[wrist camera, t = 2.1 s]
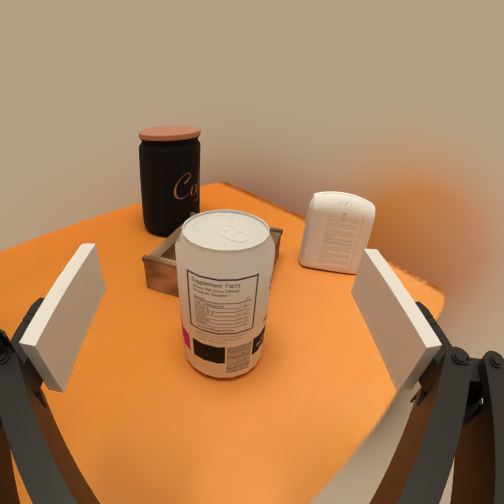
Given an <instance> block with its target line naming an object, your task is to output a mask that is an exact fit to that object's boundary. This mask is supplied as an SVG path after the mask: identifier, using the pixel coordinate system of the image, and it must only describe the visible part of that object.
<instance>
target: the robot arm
mask: <svg viewBox="0 0 504 504" xmlns="http://www.w3.org/2000/svg"><path fill="white" fill-rule="evenodd" d="M105 291H106V286H105V283H104V279H103V274H102V270H101V266H100V262H99V257H98V253H97V248H96V244H82V245H81V246H80V247H79V249H78V250H77V252H76V253H75V254H74V256H73V257H72V259H71V260H70V261H69V263H68V264H67V266H66V267H65V269H64V270H63V272H62V273H61V275H60V276H59V277H58V279H57V280H56V282H55V284H54V285H53V287H52V288H51V290H50V291H49V293H48V294H47V296H46V298H39V299H38V300H37V301H36V302H35V303H33V304H32V305H31V307H30V309H29V310H28V312H27V315H25V317H24V318H23V322H21V323H20V325H19V327H18V328H17V330H16V332H15V334H14V335H13V337H12V339H11V341H10V340H9V338H8V337H7V335H6V333H5V332H4V331H3V330H1V329H0V504H20V501H19V497H18V493H17V488H16V483H15V478H14V472H13V466H12V459H11V452H12V455H13V457H14V460H15V463H16V465H17V468H18V471H19V473H20V476H21V478H22V480H23V483H24V485H25V487H26V490H27V492H28V494H29V496H30V498H31V500H32V502H33V504H100V503H99V501H98V500H97V498H96V497H95V495H94V494H93V492H92V490H91V489H90V487H89V486H88V484H87V482H86V481H85V479H84V477H83V476H82V474H81V472H80V470H79V469H78V467H77V465H76V463H75V461H74V459H73V457H72V456H71V454H70V452H69V450H68V448H67V446H66V444H65V442H64V440H63V438H62V436H61V433H60V431H59V429H58V427H57V425H56V422H55V420H54V418H53V415H52V413H51V411H50V408H49V406H48V403H47V401H46V398H45V396H44V393H43V391H42V390H41V388H40V387H41V384H42V382H44V383H45V384H46V386H47V387H48V389H50V390H54V391H58V392H63V393H64V392H65V389H66V386H67V383H68V380H69V377H70V374H71V372H72V369H73V366H74V364H75V361H76V358H77V356H78V353H79V351H80V348H81V346H82V343H83V341H84V338H85V336H86V334H87V331H88V329H89V326H90V324H91V322H92V319H93V317H94V315H95V313H96V310H97V308H98V306H99V304H100V301H101V299H102V297H103V295H104V293H105ZM351 293H352V295H353V297H354V299H355V301H356V304H357V306H358V308H359V310H360V312H361V314H362V316H363V318H364V320H365V322H366V324H367V326H368V328H369V330H370V333H371V335H372V337H373V339H374V341H375V343H376V346H377V348H378V350H379V352H380V354H381V357H382V359H383V361H384V363H385V365H386V368H387V370H388V372H389V375H390V377H391V379H392V382H393V384H394V386H395V389H396V391H397V392H402V391H406V390H410V389H412V388H413V387H414V385H415V384H416V383H417V381H419V383H420V385H421V388H420V389H419V390H418V392H417V393H416V394H415V395H414V397H413V398H412V400H411V401H410V402H413V401H414V400H415V402H414V405H413V408H412V411H411V413H410V416H409V419H408V422H407V424H406V427H405V429H404V432H403V435H402V437H401V439H400V442H399V444H398V447H397V449H396V451H395V454H394V456H393V458H392V460H391V462H390V465H389V467H388V469H387V471H386V473H385V475H384V477H383V479H382V481H381V483H380V485H379V487H378V489H377V491H376V493H375V495H374V496H373V498H372V500H371V502H370V504H439V502H440V500H441V497H442V494H443V491H444V488H445V486H446V483H447V480H448V477H449V473H450V470H451V467H452V463H453V460H454V474H453V486H452V494H451V502H450V504H504V359H503V357H502V356H501V355H500V354H498V353H497V352H494V351H488V352H486V353H485V355H484V356H483V358H482V359H476V358H470V357H469V355H468V354H467V353H466V352H465V351H464V350H463V349H461V348H458V347H452V346H451V344H450V342H449V341H448V339H447V337H446V336H445V334H444V333H443V331H442V330H441V328H440V327H439V325H437V322H436V321H435V319H434V318H433V316H432V315H431V313H430V312H429V310H428V309H427V308H426V307H425V306H424V305H423V304H421V303H420V302H414V300H413V299H412V297H411V296H410V295H409V293H408V292H407V290H406V289H405V287H404V286H403V284H402V283H401V282H400V280H399V279H398V277H397V276H396V275H395V273H394V272H393V270H392V269H391V268H390V266H389V265H388V264H387V262H386V261H385V259H384V258H383V257H382V256H381V254H380V253H379V251H378V250H377V249H364V250H363V254H362V257H361V261H360V264H359V268H358V271H357V275H356V278H355V281H354V285H353V288H352V291H351ZM482 398H483V404H482V400H481V399H482ZM10 449H11V452H10ZM454 456H455V459H454Z"/></svg>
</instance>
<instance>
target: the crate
mask: <svg viewBox="0 0 504 504" xmlns="http://www.w3.org/2000/svg"><path fill="white" fill-rule="evenodd" d="M196 214H199V213H193V212H192V213H190V217H192V216H193V215H196ZM187 220H188V219H187ZM184 223H185V222H184ZM184 223H183V224H184ZM183 224H182V225H181V226H180V227H179V228H178V229H176V230H175V231H174V232H173V233H172V234H171V235H170V236H169V237H168V238H167V239H166V240H165V241H163V242H162V243H161V244H160V245H159V246H158V247H157V248H156V249H155V250H154V251H153V252H152V253H151V254H150V255H149V256H146V255H144V256H143V257H142V261H143V262H144V267H145V274H146V280H147V286H148V288H150V289H154V290H157V291H160V292H164V293H167V294H170V295H174V296H177V297H179V291H178V280H177V267H176V254H175V243H176V241H177V239H178V237H179V236H180V234H181V232H182V226H183ZM269 232H270V235H271V237H272V239H273V241H274V243H275V258H274V265H275V262H276V260H277V257H278V253H279V246H280V238H281V235H282V233H283V229H278V228H273V227H269ZM273 267H274V266H273Z"/></svg>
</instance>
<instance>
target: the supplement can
mask: <svg viewBox="0 0 504 504" xmlns="http://www.w3.org/2000/svg"><path fill="white" fill-rule="evenodd" d="M175 254H176V267H177V280H178V291H179V301H180V311H181V320H182V329H183V338H184V346H185V351H186V356H187V359H188V360H189V361H190V363H191V364H192V366H193V367H194V368H196V369H197V370H199V371H200V372H202V373H204V374H206V375H210V376H213V377H217V378H227V377H235V376H238V375H241V374H244V373H246V372H248V371H249V370H250V369H251V368H253V367H254V366H255V365H256V363H257V362H258V360H259V358H260V356H261V350H262V344H263V337H264V330H265V323H266V316H267V309H268V302H269V295H270V288H271V281H272V273H273V266H274V258H275V243H274V241H273V239H272V237H271V235H270V232H269V227H268V225H267V224H266V223H265V221H263V220H261V219H260V218H258V217H257V216H254V215H251V214H248V213H245V212H241V211H234V210H213V211H206V212H202V213H199V214H196V215H193V216H192V217H190V218H189V219H188V220H186V221H185V223H184V224H183V226H182V232H181V234H180V236H179V237H178V239H177V241H176V243H175Z"/></svg>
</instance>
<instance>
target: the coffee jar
mask: <svg viewBox="0 0 504 504" xmlns="http://www.w3.org/2000/svg"><path fill="white" fill-rule="evenodd" d="M200 131H201V130H200V129H199V128H196V127H191V126H163V127H154V128H149V129H145V130H142V131H140V132H139V138H140V139H141V140H142V143H141V144H140V146H139V160H140V179H141V193H142V207H143V218H144V223H145V226H146V227H147V228H148V229H149V231H151V232H152V233H154V234H156V235H160V236H170V235H171V234H172V233H173V232H174V231H175V230H176V229H178V228H179V227H180V226H181V225H182V224H183V223H184V222H185V221H186V220H187V219H189V218H190V213H192V212H193V213H200V142H199V141H198V137H199V136H200Z"/></svg>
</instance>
